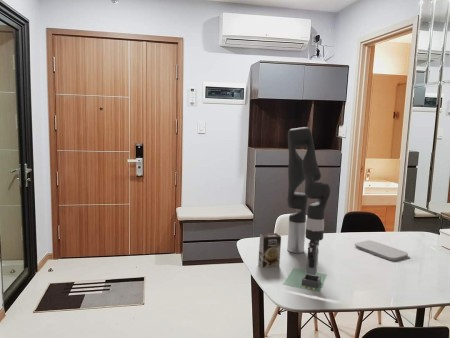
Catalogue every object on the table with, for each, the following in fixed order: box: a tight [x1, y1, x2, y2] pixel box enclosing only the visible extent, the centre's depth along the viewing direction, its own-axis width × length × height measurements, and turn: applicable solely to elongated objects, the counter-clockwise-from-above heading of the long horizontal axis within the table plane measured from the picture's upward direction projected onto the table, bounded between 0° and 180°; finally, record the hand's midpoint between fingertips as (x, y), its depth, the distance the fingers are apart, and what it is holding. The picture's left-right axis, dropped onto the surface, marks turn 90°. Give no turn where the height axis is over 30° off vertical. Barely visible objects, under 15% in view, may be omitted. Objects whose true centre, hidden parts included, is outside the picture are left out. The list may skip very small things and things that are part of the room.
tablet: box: [354, 240, 409, 262], centre depth 206 cm, size 16×26×2 cm, turn 32°
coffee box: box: [257, 232, 282, 268], centre depth 179 cm, size 9×6×16 cm
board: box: [282, 267, 328, 293], centre depth 164 cm, size 20×16×4 cm
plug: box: [306, 249, 319, 275], centre depth 158 cm, size 4×4×10 cm
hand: (312, 265), depth 159 cm, fingers closed on plug, 4 cm apart
